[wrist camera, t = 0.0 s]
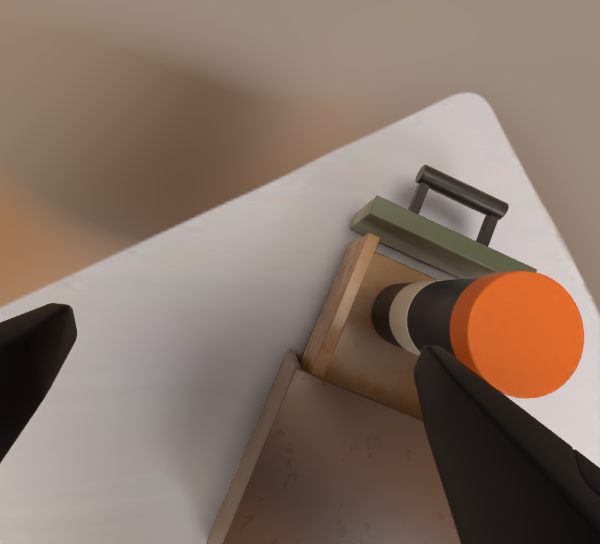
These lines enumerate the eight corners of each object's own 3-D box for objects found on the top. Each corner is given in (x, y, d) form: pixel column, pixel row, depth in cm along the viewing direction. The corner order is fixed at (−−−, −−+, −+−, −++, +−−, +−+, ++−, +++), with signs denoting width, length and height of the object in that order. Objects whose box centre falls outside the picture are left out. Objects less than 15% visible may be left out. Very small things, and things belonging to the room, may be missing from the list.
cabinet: (287, 349, 23) (295, 368, 18) (439, 412, 24) (495, 451, 18) (206, 540, 22) (185, 631, 16) (370, 600, 23) (406, 707, 17)
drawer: (375, 166, 24) (400, 137, 20) (505, 227, 25) (557, 212, 21) (285, 382, 23) (290, 404, 18) (426, 440, 23) (465, 475, 19)
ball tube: (442, 332, 23) (604, 368, 12) (383, 358, 22) (497, 420, 11) (417, 271, 23) (556, 252, 12) (359, 295, 22) (448, 298, 12)
